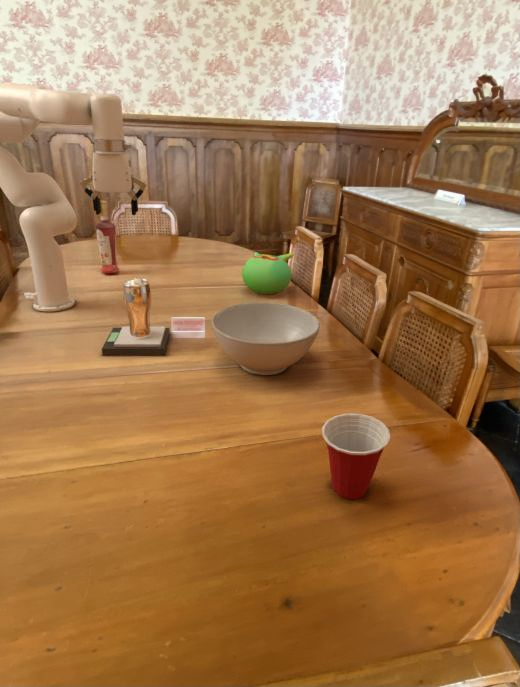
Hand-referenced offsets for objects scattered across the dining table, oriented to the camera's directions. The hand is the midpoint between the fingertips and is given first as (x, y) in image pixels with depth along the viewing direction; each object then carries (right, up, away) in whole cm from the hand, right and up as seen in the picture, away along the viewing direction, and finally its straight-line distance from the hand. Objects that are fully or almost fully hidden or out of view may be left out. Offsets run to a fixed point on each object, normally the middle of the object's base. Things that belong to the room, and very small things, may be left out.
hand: (116, 214), depth 130 cm
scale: (+6, -36, 0) cm, 37 cm away
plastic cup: (+55, -61, -49) cm, 96 cm away
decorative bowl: (+41, -41, -9) cm, 59 cm away
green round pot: (+42, -17, +43) cm, 63 cm away
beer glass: (+7, -34, -1) cm, 34 cm away
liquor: (-20, -8, +59) cm, 63 cm away
